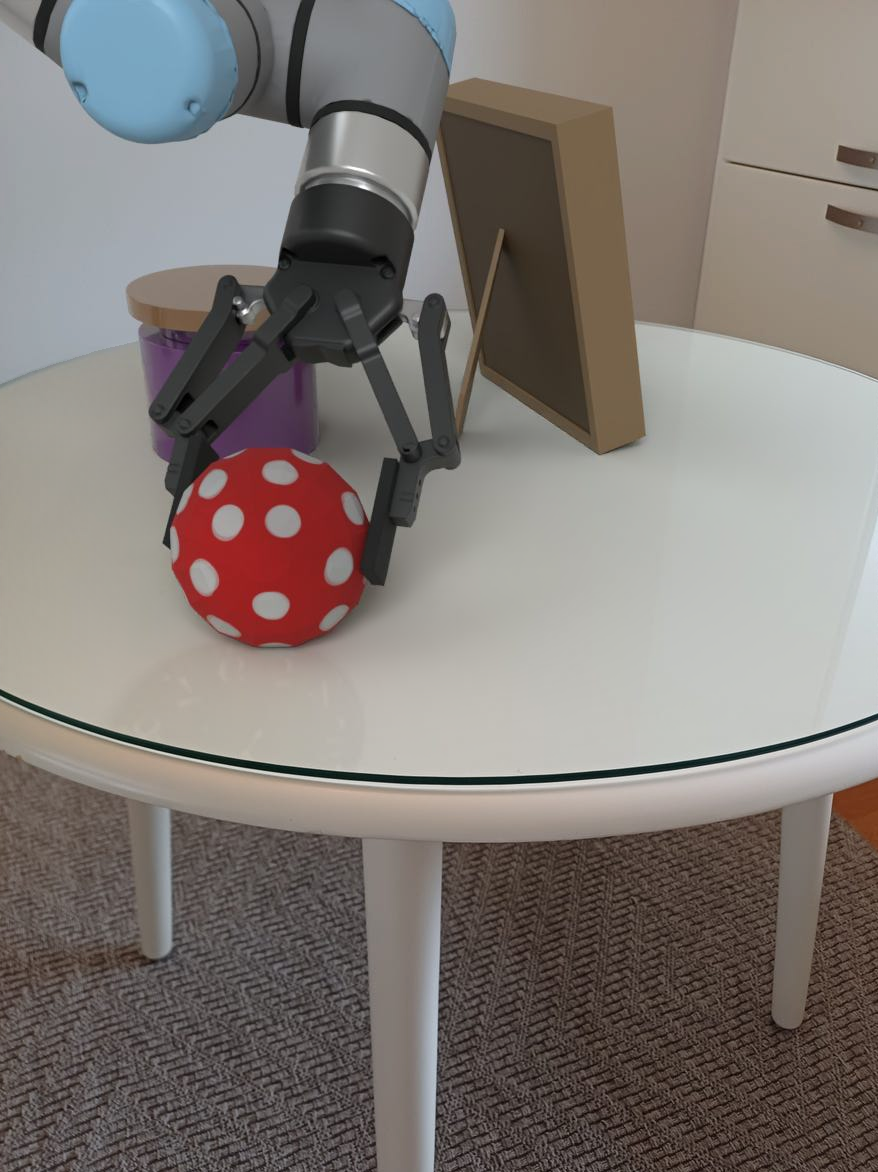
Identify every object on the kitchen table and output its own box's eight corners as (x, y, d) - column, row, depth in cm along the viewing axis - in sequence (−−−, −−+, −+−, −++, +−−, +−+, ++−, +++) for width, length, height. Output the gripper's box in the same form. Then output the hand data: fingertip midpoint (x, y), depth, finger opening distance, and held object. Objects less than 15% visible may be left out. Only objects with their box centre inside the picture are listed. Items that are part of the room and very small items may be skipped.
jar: (112, 462, 84) (88, 301, 78) (193, 403, 96) (178, 258, 90) (288, 483, 82) (278, 318, 76) (349, 420, 94) (344, 272, 88)
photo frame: (521, 369, 107) (535, 76, 94) (644, 447, 90) (682, 105, 78) (375, 386, 101) (369, 78, 89) (478, 473, 85) (489, 109, 72)
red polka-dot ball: (262, 408, 70) (227, 402, 56) (410, 507, 72) (414, 527, 58) (168, 555, 72) (110, 587, 57) (316, 649, 74) (297, 704, 59)
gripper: (550, 268, 69) (487, 612, 64) (197, 240, 73) (111, 560, 68) (539, 190, 61) (467, 570, 56) (149, 163, 66) (49, 515, 60)
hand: (273, 565), depth 62 cm, fingers closed on red polka-dot ball, 11 cm apart
